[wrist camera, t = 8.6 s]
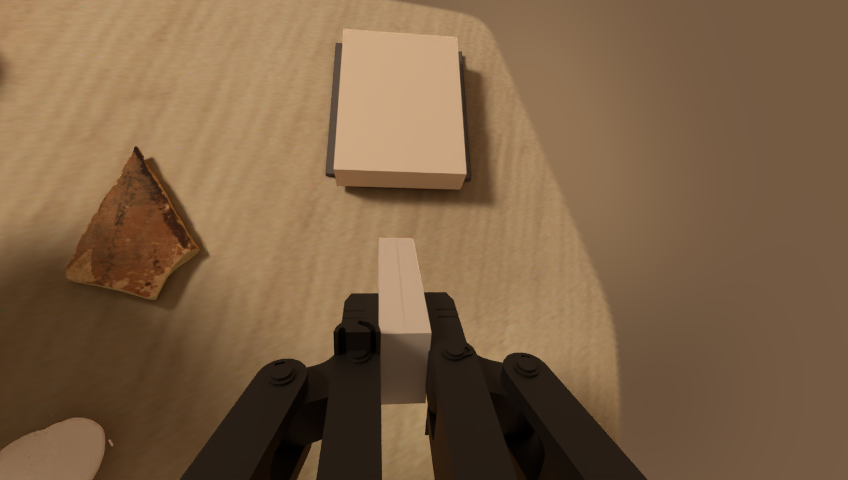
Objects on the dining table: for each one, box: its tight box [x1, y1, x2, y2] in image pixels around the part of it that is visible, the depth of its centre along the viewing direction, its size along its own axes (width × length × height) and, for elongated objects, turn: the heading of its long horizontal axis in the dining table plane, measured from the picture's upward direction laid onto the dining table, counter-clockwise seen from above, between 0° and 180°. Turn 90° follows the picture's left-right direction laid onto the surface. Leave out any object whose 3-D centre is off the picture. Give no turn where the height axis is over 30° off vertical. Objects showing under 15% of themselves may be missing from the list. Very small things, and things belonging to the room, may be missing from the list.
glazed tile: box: [334, 29, 467, 190], centre depth 33 cm, size 10×3×14 cm
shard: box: [65, 147, 200, 300], centre depth 29 cm, size 11×8×2 cm
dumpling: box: [0, 415, 113, 480], centre depth 21 cm, size 7×5×4 cm
